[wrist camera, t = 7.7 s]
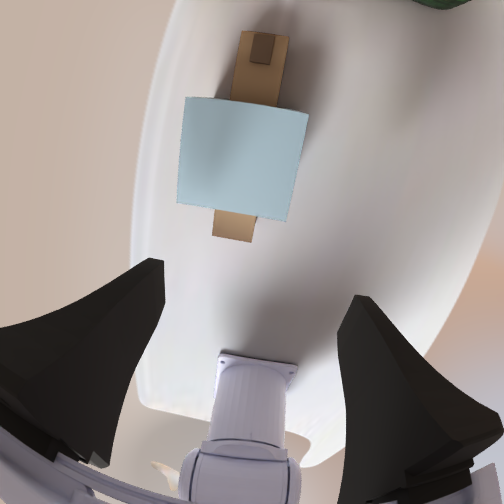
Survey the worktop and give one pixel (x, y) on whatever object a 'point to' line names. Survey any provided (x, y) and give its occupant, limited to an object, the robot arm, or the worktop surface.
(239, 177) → the light blue open box
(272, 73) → the brown board
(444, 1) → the coffee jar
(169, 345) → the worktop surface
